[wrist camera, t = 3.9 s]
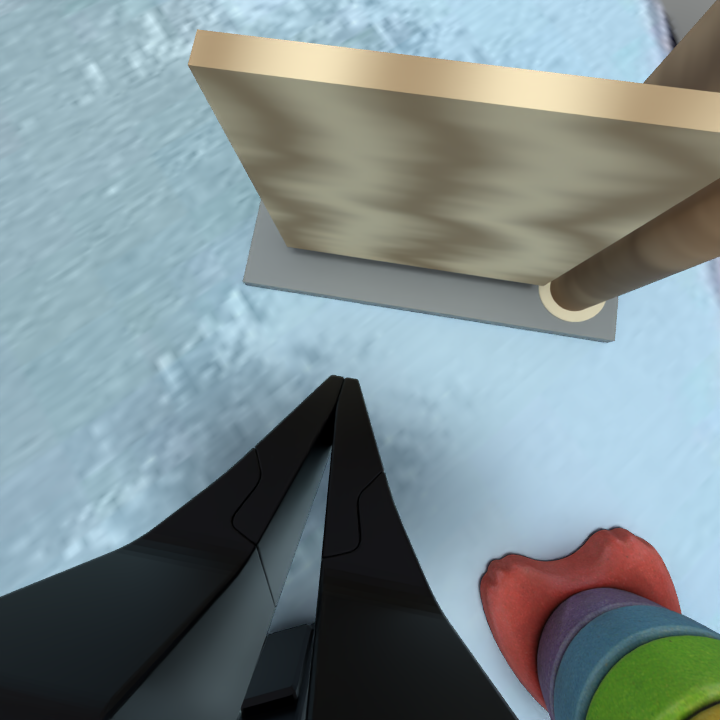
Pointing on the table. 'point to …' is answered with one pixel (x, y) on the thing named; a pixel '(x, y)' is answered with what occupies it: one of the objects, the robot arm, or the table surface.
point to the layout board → (418, 288)
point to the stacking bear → (603, 634)
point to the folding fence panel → (452, 154)
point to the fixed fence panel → (676, 225)
